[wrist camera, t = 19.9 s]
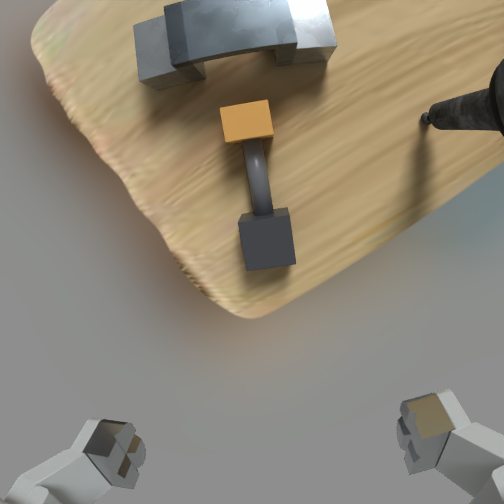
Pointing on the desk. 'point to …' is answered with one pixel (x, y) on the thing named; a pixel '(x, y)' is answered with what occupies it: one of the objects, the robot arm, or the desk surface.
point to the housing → (229, 36)
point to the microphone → (472, 108)
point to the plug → (258, 189)
